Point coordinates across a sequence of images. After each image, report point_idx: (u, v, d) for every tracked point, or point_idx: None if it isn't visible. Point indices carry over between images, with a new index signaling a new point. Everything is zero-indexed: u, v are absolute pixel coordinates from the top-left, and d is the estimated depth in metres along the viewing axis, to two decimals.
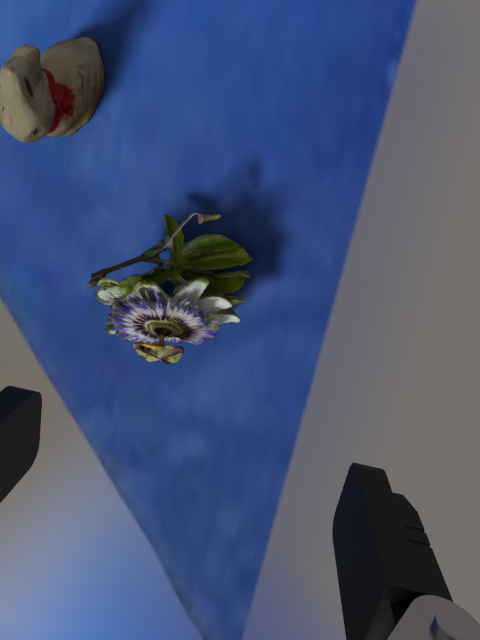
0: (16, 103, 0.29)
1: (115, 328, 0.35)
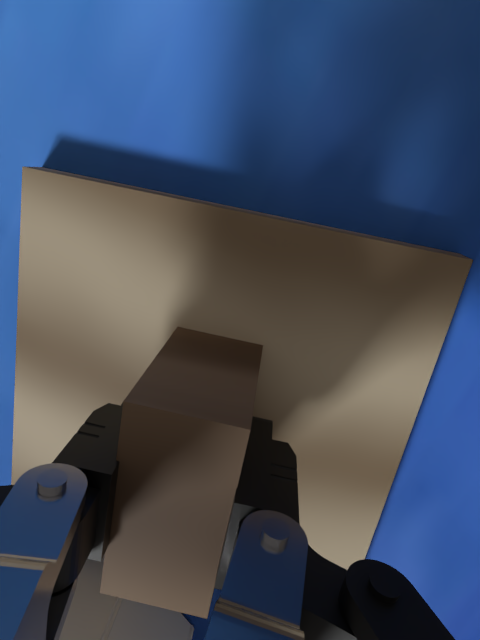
0: None
1: None
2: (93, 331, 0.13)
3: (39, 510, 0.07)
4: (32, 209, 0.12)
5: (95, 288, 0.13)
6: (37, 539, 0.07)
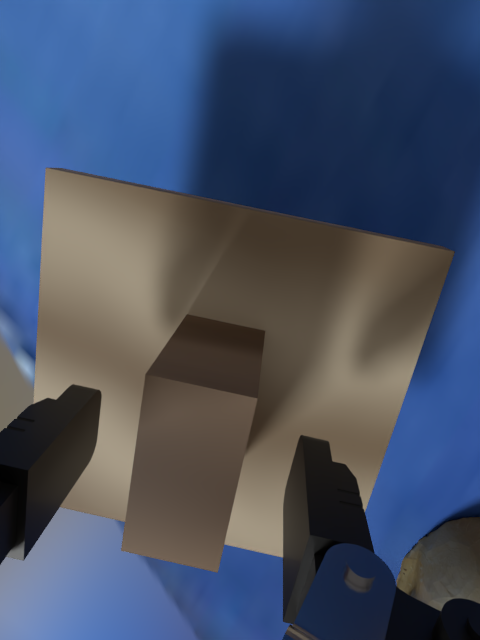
0: None
1: None
2: (109, 319, 0.14)
3: None
4: (54, 207, 0.14)
5: (111, 279, 0.14)
6: None
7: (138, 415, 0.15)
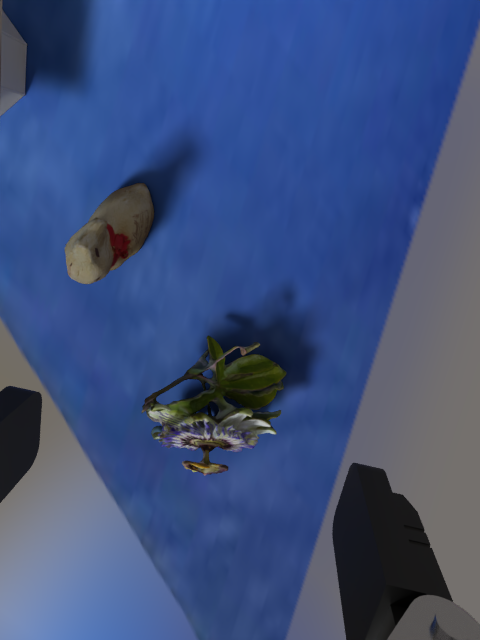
0: (85, 264, 0.33)
1: (165, 444, 0.39)
2: None
3: None
4: None
5: None
6: None
7: None
